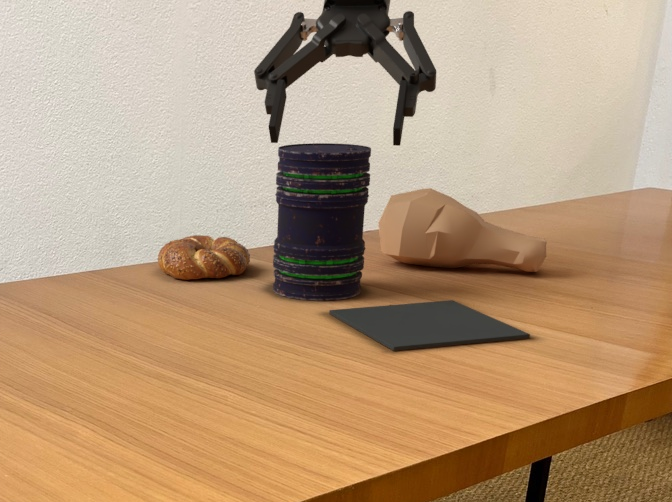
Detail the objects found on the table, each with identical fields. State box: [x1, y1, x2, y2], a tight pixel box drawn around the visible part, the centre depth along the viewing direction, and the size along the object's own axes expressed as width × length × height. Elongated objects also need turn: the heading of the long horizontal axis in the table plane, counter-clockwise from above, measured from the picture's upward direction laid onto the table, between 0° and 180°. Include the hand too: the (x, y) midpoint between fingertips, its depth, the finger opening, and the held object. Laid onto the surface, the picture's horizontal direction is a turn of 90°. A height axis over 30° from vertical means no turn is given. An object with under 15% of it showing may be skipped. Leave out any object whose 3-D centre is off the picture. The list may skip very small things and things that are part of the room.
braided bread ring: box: [157, 234, 251, 281], centre depth 124 cm, size 12×11×4 cm
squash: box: [378, 187, 548, 273], centre depth 125 cm, size 11×20×9 cm, turn 66°
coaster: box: [329, 299, 531, 352], centre depth 102 cm, size 14×14×1 cm
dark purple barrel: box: [272, 142, 372, 301], centre depth 113 cm, size 10×10×15 cm
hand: (333, 136), depth 116 cm, fingers open, 13 cm apart
